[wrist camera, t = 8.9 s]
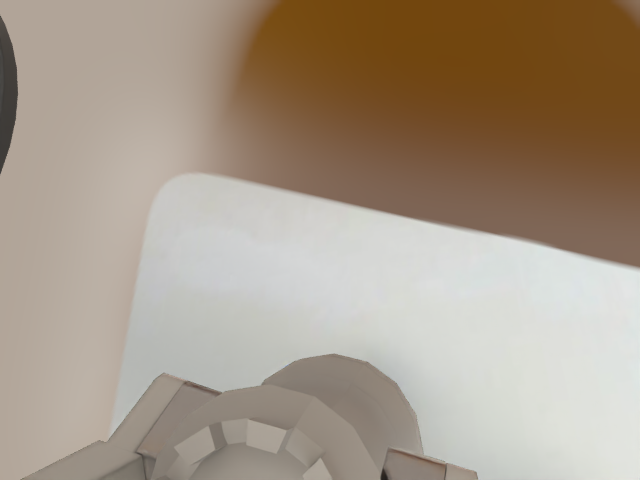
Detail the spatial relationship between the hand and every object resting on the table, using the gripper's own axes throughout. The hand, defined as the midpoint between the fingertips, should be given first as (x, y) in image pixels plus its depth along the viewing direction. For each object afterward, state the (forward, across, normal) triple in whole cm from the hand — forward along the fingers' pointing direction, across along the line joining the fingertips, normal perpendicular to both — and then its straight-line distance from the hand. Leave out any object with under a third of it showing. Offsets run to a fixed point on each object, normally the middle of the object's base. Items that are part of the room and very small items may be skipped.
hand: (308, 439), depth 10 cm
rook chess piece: (+3, 0, +4) cm, 5 cm away
